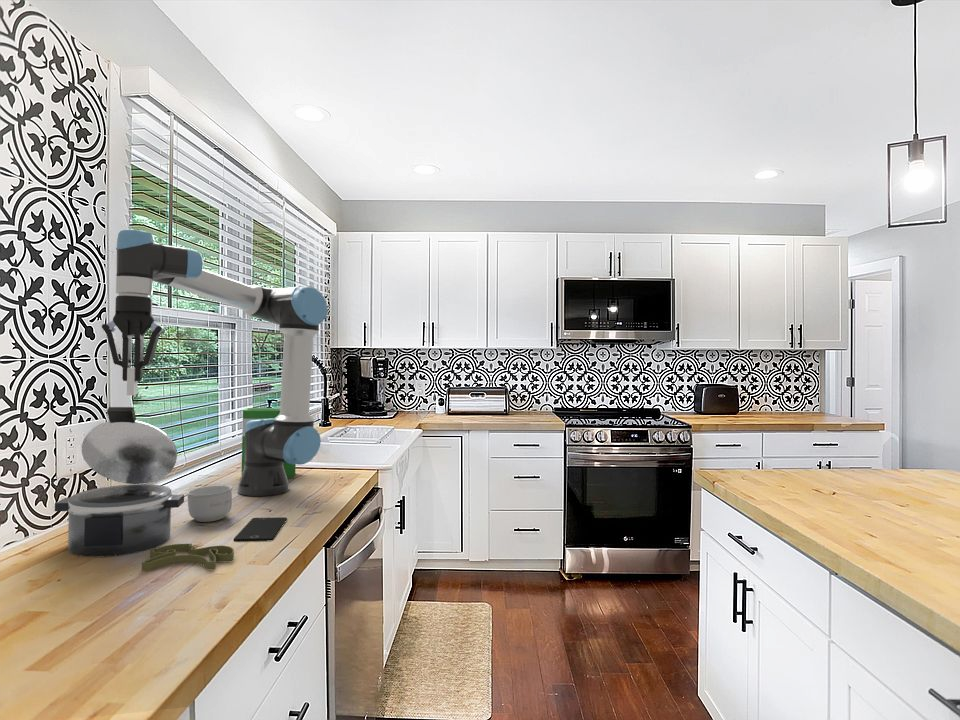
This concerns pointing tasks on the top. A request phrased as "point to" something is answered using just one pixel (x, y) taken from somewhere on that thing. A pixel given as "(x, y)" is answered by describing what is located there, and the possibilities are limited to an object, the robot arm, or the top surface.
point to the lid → (128, 449)
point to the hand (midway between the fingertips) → (132, 394)
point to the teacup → (210, 502)
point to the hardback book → (259, 415)
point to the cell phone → (261, 529)
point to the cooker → (119, 519)
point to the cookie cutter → (187, 556)
